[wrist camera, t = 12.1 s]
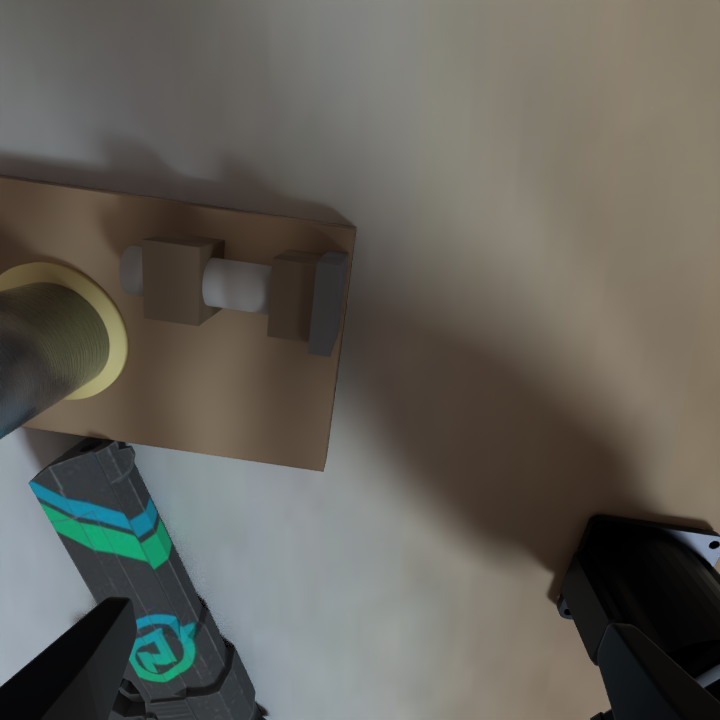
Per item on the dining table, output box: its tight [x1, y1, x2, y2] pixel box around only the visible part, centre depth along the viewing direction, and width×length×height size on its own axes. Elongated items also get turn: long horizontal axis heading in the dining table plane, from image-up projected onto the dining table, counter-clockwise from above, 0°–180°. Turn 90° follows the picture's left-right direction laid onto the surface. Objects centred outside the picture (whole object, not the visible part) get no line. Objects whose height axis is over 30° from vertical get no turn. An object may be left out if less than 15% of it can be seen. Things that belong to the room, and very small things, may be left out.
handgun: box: [29, 437, 266, 720], centre depth 27 cm, size 4×26×15 cm
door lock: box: [0, 175, 357, 472], centre depth 19 cm, size 15×11×4 cm
